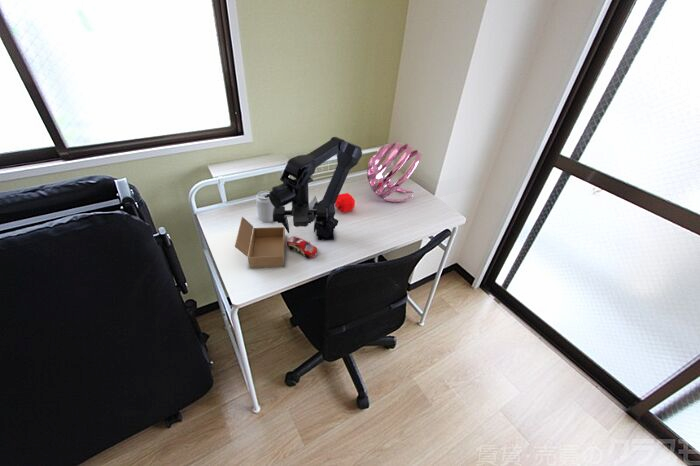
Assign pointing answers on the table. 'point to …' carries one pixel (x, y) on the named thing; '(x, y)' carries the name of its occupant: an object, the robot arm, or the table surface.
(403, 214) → the table surface
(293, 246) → the race car
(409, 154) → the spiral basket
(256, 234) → the carton
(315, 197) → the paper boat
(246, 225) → the flap
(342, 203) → the ball
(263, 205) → the can
